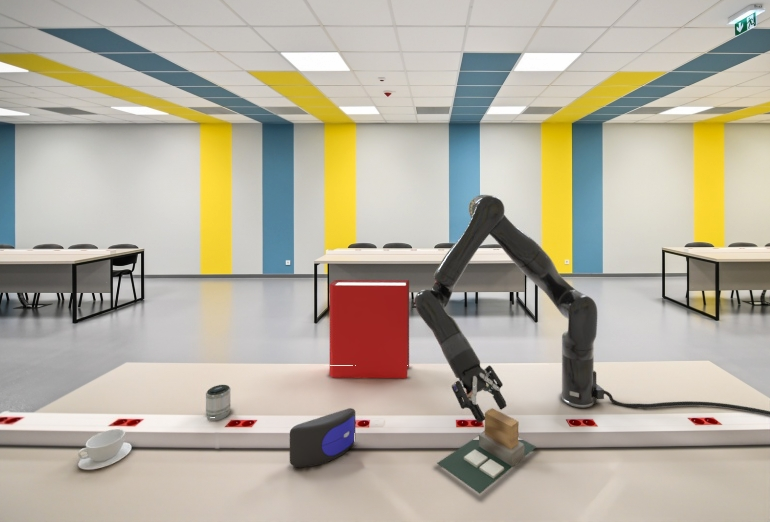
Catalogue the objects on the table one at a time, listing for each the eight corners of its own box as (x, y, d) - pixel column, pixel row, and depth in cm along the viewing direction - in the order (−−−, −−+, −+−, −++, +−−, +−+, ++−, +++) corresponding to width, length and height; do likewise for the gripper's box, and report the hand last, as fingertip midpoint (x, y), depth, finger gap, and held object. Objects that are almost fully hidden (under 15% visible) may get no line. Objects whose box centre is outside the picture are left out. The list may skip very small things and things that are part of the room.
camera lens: (202, 415, 115) (202, 388, 115) (225, 406, 120) (225, 380, 120) (210, 424, 111) (210, 396, 111) (234, 414, 116) (234, 387, 116)
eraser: (478, 446, 100) (478, 412, 100) (491, 437, 103) (491, 404, 103) (512, 466, 93) (512, 430, 92) (524, 456, 96) (524, 421, 96)
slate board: (494, 428, 109) (494, 424, 109) (536, 451, 100) (536, 446, 100) (436, 468, 94) (436, 463, 94) (479, 499, 84) (479, 493, 84)
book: (409, 367, 146) (409, 280, 146) (407, 378, 138) (407, 285, 138) (334, 367, 146) (334, 279, 146) (328, 377, 138) (328, 285, 138)
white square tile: (474, 451, 98) (474, 449, 98) (487, 459, 95) (487, 457, 95) (463, 459, 95) (463, 456, 95) (476, 467, 92) (476, 465, 92)
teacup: (128, 439, 105) (128, 421, 105) (134, 457, 97) (134, 438, 97) (76, 457, 98) (76, 437, 98) (79, 478, 90) (79, 457, 90)
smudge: (490, 461, 94) (490, 458, 94) (504, 469, 91) (504, 467, 91) (479, 469, 92) (479, 467, 92) (493, 478, 89) (493, 476, 89)
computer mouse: (293, 476, 91) (293, 435, 91) (288, 465, 95) (288, 425, 95) (360, 450, 100) (360, 413, 100) (353, 441, 104) (353, 404, 104)
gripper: (448, 355, 101) (483, 419, 93) (484, 340, 111) (519, 397, 103) (433, 369, 105) (466, 432, 97) (469, 353, 115) (502, 409, 106)
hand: (493, 414), depth 100 cm, fingers open, 8 cm apart
